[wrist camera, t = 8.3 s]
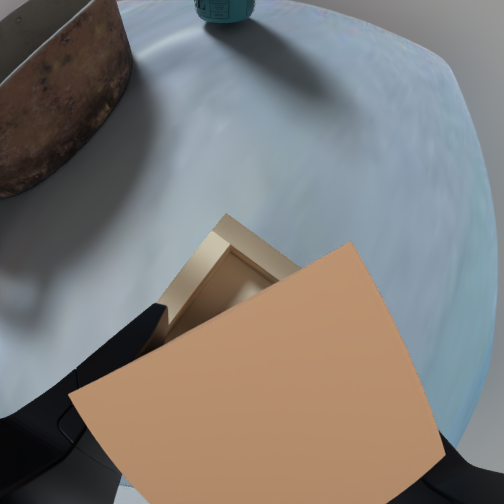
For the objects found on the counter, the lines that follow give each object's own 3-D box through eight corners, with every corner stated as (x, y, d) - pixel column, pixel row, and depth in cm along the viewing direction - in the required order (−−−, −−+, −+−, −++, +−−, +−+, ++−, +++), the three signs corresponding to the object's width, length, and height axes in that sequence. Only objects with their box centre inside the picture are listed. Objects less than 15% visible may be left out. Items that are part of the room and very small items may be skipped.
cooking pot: (91, 242, 17) (-12, 185, 7) (-48, 240, 16) (-109, 215, 5) (164, 12, 23) (154, -52, 13) (32, 49, 21) (8, 6, 11)
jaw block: (230, 393, 14) (233, 569, 2) (191, 329, 14) (68, 394, 3) (295, 356, 14) (445, 455, 3) (258, 292, 15) (350, 241, 3)
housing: (232, 472, 15) (233, 504, 11) (103, 383, 15) (76, 399, 11) (354, 320, 17) (383, 322, 14) (222, 222, 18) (220, 200, 14)
